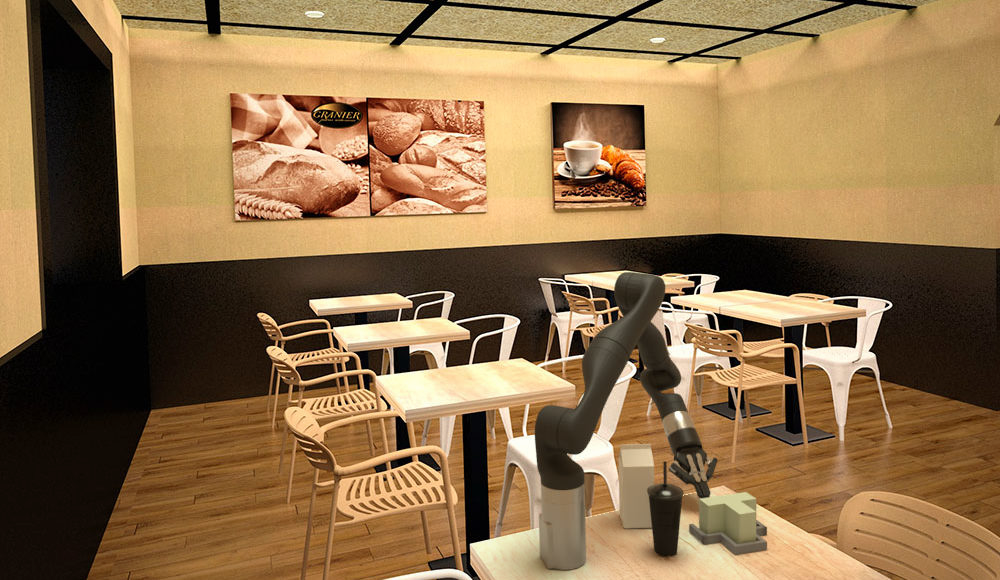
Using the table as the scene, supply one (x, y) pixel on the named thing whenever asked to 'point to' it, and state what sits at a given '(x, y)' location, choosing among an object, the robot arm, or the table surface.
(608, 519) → the table surface
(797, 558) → the table surface
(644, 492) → the milk carton
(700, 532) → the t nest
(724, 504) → the t block
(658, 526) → the drinking cup
